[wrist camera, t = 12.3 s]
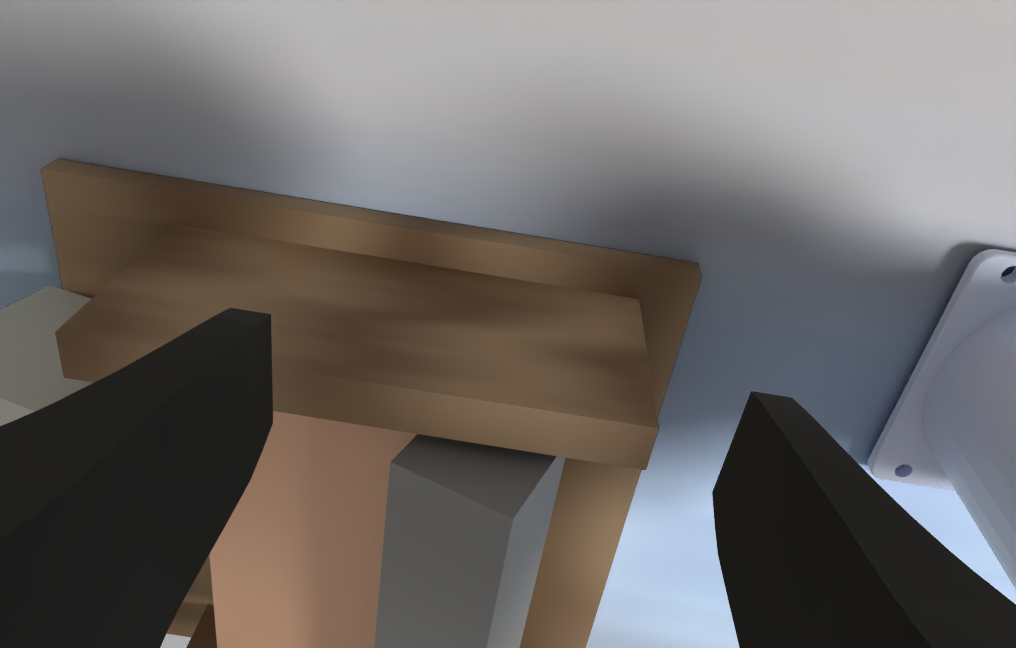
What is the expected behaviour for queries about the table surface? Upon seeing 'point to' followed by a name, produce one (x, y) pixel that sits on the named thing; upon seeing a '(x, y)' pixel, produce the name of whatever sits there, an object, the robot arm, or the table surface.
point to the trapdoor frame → (394, 339)
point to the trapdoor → (381, 541)
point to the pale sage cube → (34, 352)
